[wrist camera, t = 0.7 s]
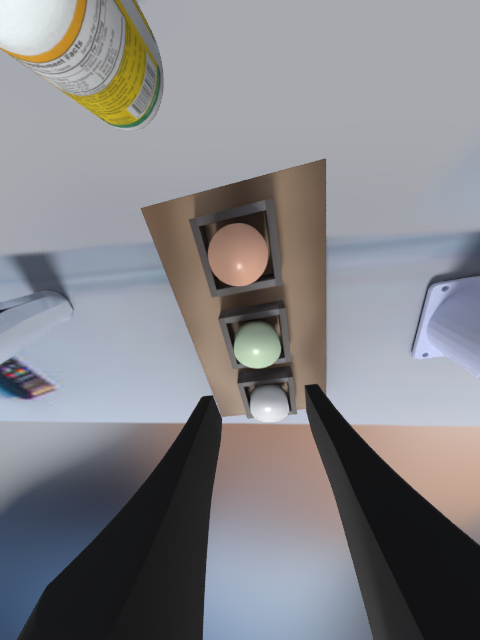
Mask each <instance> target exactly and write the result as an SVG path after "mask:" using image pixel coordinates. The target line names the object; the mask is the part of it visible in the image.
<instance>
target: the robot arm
mask: <svg viewBox="0 0 480 640" xmlns="http://www.w3.org/2000/svg"><path fill="white" fill-rule="evenodd" d="M444 286H445V287H444ZM443 287H444V288H443ZM442 288H443V289H442ZM441 356H447V357H449V358H450V359H452V360H453V361H455V362H456V363H458V364H459V365H460V366H462V367H463V368H465V369H466V370H468V371H469V372H471V373H472V374H474V375H475V376H476V377H478V378H479V379H480V276H474V277H468V278H462V279H456V280H450V281H444V282H438V283H434V284H433V285H431V286H430V287H429V289H428V293H427V297H426V301H425V304H424V308H423V312H422V316H421V320H420V324H419V328H418V332H417V335H416V339H415V343H414V347H413V351H412V357H414V358H415V359H424V358H433V357H441ZM305 399H306V412H307V415H308V419H309V423H310V427H311V431H312V434H313V437H314V440H315V442H316V445H317V448H318V451H319V453H320V456H321V459H322V462H323V465H324V467H325V470H326V473H327V475H328V478H329V481H330V484H331V487H332V490H333V493H334V496H335V499H336V503H337V506H338V510H339V513H340V517H341V521H342V524H343V528H344V531H345V535H346V538H347V542H348V546H349V549H350V553H351V557H352V560H353V564H354V568H355V571H356V575H357V579H358V582H359V586H360V590H361V593H362V597H363V601H364V605H365V609H366V612H367V616H368V620H369V624H370V628H371V631H372V635H373V639H374V640H480V545H479V544H477V543H476V542H475V541H474V540H473V539H471V538H470V537H469V536H468V535H467V534H465V533H464V532H463V531H462V530H461V529H459V528H458V527H457V526H456V525H455V524H453V523H452V522H451V521H450V520H449V519H448V518H446V517H445V516H444V515H443V514H442V513H441V512H439V511H438V510H437V509H436V508H435V507H434V506H433V505H432V504H430V503H429V502H428V501H427V500H426V499H425V498H423V497H422V496H421V495H420V494H419V493H418V492H417V491H416V490H414V489H413V488H412V487H411V486H410V485H409V484H408V483H407V482H406V481H404V479H402V478H401V477H400V476H399V475H398V474H397V473H396V472H395V471H394V470H393V469H392V468H391V467H390V466H389V465H388V464H387V463H386V462H385V461H384V460H382V458H381V457H379V455H378V454H377V453H376V452H375V451H374V450H373V449H372V448H371V447H370V446H369V445H368V444H367V443H366V442H365V441H364V440H363V439H362V438H361V437H360V436H359V435H358V434H357V432H356V431H355V430H354V429H353V428H352V427H351V426H350V424H349V423H348V422H347V421H346V420H345V419H344V417H343V416H342V415H341V414H340V413H339V411H338V410H337V409H336V408H335V407H334V405H333V404H332V403H331V401H330V400H329V399H328V397H327V396H326V395H325V393H324V392H323V391H322V389H321V388H320V386H319V385H318V384H311V385H305ZM221 430H222V418H221V415H220V413H219V410H218V407H217V405H216V402H215V400H214V397H213V395H212V396H203V397H202V398H201V399H200V401H199V402H198V404H197V406H196V408H195V409H194V411H193V413H192V414H191V416H190V418H189V419H188V421H187V423H186V424H185V426H184V427H183V429H182V430H181V432H180V434H179V435H178V437H177V438H176V440H175V441H174V443H173V444H172V446H171V447H170V449H169V450H168V452H167V453H166V454H165V456H164V457H163V459H162V460H161V461H160V463H159V464H158V465H157V467H156V468H155V469H154V471H153V472H152V473H151V475H150V476H149V477H148V478H147V480H146V481H145V483H143V485H142V486H141V487H140V488H139V489H138V491H137V492H136V493H135V494H134V496H133V497H132V498H131V499H130V500H129V502H128V503H127V504H126V505H125V506H124V508H122V510H121V511H120V512H119V513H118V514H117V515H116V516H115V517H114V518H113V519H112V521H111V522H110V523H109V524H108V525H107V526H106V527H105V528H104V529H103V530H102V531H101V532H100V533H99V535H98V536H97V537H96V538H95V539H94V540H93V541H92V542H91V543H90V544H89V545H88V546H87V547H86V548H85V549H84V550H83V551H82V552H81V553H80V554H79V555H78V556H77V557H76V558H75V559H74V560H73V561H72V562H71V563H70V564H69V565H68V566H67V567H66V568H65V569H64V570H63V571H62V572H61V573H60V574H59V575H58V576H57V577H56V578H55V579H54V580H53V581H52V582H51V583H50V584H49V585H48V586H47V587H46V589H45V590H44V592H43V593H42V595H41V597H40V599H39V601H38V603H37V604H36V606H35V608H34V610H33V611H32V613H31V615H30V617H29V619H28V621H27V622H26V624H25V626H24V628H23V630H22V631H21V633H20V635H19V637H18V638H17V640H203V616H204V614H203V613H204V592H205V574H206V558H207V545H208V531H209V519H210V507H211V498H212V491H213V484H214V478H215V472H216V466H217V460H218V454H219V448H220V442H221Z"/></svg>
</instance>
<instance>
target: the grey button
mask: <svg viewBox="0 0 480 640" xmlns="http://www.w3.org/2000/svg"><path fill="white" fill-rule="evenodd" d="M250 412H251V414H252V416H253V417H254V418H256V419H257V420H259V421H262V422H277V421H280V420H282V419H284V418H285V417H286V416H287V415H288V413H289V405H288V400H287V396H286V392H285V390H284V389H283V388H282V387H281V386H279V385H277V384H273V383H272V384H263V385H258V386H256V387H255V388H254V389H253V390H252V391H251V394H250Z"/></svg>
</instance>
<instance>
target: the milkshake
mask: <svg viewBox="0 0 480 640" xmlns="http://www.w3.org/2000/svg"><path fill="white" fill-rule="evenodd" d="M72 313H73V309H72V307H71V305H70V303H69V301H68V300H67V299H66V298H64V297H63V296H62V295H61V294H59V293H57V292H53V291H49V290H46V291H42V292H38V293H34V294H30V295H26V296H22V297H19V298H15V299H11V300H7V301H3V302H0V365H1V364H3V363H4V362H6V361H7V360H9V359H10V358H11V357H13V356H14V355H16V354H17V353H19V352H20V351H21V350H23V349H24V348H26V347H27V346H29V345H30V344H32V343H33V342H35V341H36V340H38V339H39V338H41V337H43V336H44V335H46V334H47V333H49V332H50V331H52V330H53V329H55V328H56V327H58V326H59V325H61V324H62V323H64V322H65V321H67V320H69V319H70V318H71V317H72Z"/></svg>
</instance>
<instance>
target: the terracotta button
mask: <svg viewBox="0 0 480 640" xmlns="http://www.w3.org/2000/svg"><path fill="white" fill-rule="evenodd" d="M208 260H209V264H210V267H211V269H212V271H213V273H214V274H215V275H216V277H217V278H219V279H220V280H221V281H222V282H224V283H226V284H228V285H232V286H245V285H248V284H251V283H253V282H254V281H256V280H257V279H258V278H259V277H260V276H261V275H262V273H263V272H264V270H265V268H266V265H267V261H268V249H267V245H266V242H265V240H264V238H263V237H262V235H261V234H260V233H259V232H258V231H257V230H256V229H255V228H253V227H252V226H250V225H247V224H243V223H235V224H230V225H227V226H225V227H223V228H221V229H220V230H219V231H218V232H217V233H216V234H215V235H214V236H213V238H212V240H211V242H210V245H209V249H208Z"/></svg>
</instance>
